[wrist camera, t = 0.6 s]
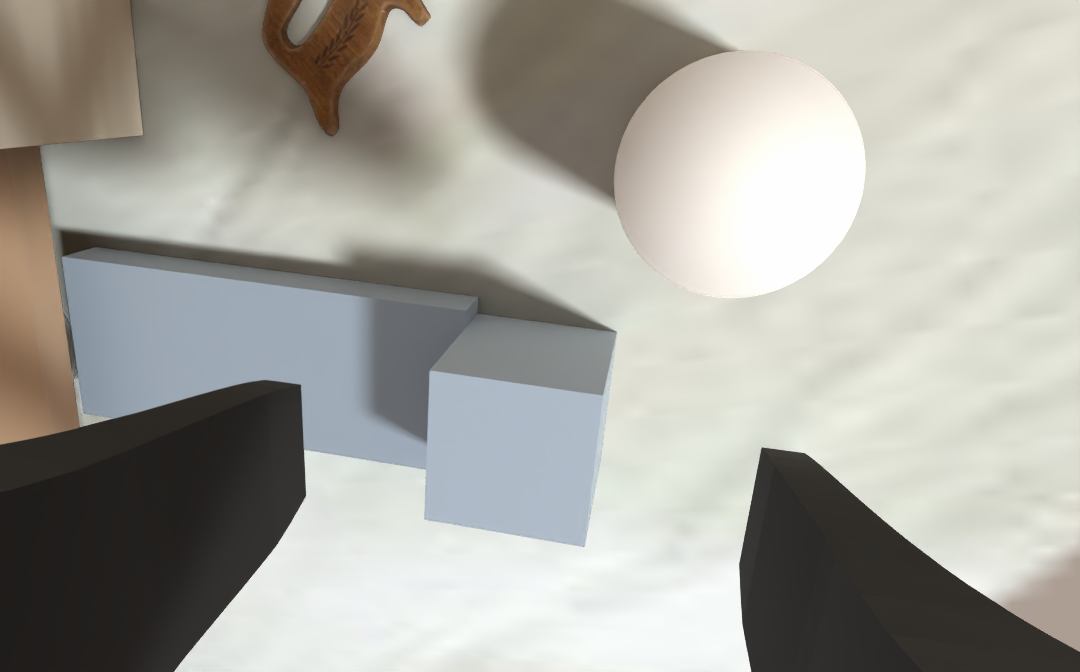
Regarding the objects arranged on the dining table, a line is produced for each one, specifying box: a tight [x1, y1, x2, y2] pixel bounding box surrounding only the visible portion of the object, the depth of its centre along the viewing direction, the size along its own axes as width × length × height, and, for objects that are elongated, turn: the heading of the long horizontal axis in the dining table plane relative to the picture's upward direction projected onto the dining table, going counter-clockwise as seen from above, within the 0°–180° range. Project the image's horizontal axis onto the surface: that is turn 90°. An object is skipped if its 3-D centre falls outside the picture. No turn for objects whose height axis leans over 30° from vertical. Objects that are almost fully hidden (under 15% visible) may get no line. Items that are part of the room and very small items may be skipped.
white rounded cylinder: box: [614, 50, 866, 298], centre depth 16 cm, size 5×5×5 cm
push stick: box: [62, 247, 617, 547], centre depth 20 cm, size 5×16×4 cm, turn 85°
